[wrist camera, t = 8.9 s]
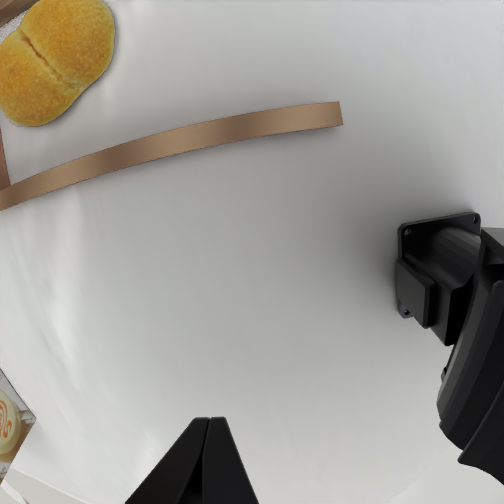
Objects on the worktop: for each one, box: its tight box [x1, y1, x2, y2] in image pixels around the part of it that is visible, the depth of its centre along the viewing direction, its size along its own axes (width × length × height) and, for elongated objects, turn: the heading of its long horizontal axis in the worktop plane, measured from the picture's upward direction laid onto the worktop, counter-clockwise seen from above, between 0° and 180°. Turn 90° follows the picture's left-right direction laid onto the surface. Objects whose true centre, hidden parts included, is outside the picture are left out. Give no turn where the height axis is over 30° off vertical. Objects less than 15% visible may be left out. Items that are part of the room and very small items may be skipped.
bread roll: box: [0, 0, 115, 127], centre depth 13 cm, size 8×9×4 cm
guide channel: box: [0, 0, 343, 211], centre depth 13 cm, size 22×15×4 cm
